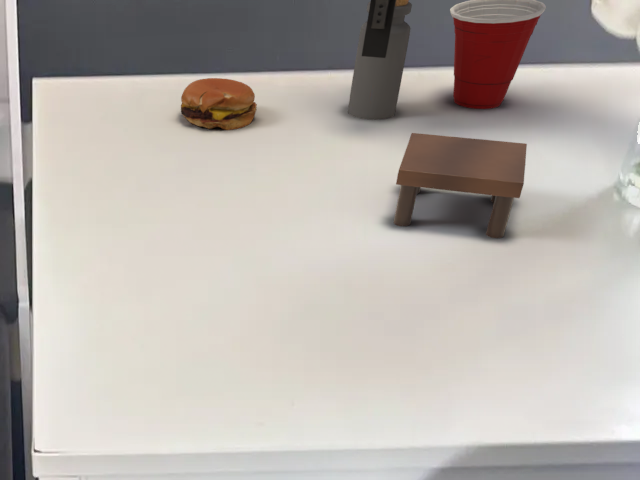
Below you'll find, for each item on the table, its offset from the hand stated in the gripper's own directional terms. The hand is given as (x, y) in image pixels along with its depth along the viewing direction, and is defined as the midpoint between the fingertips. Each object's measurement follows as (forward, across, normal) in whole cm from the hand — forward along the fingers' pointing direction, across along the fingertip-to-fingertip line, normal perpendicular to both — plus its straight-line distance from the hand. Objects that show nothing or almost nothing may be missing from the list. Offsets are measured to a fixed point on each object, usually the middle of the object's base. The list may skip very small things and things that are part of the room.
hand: (381, 41), depth 117 cm
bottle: (+9, 0, 0) cm, 9 cm away
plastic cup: (+9, -8, +12) cm, 17 cm away
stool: (+8, +30, +12) cm, 33 cm away
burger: (+9, +8, -18) cm, 22 cm away
